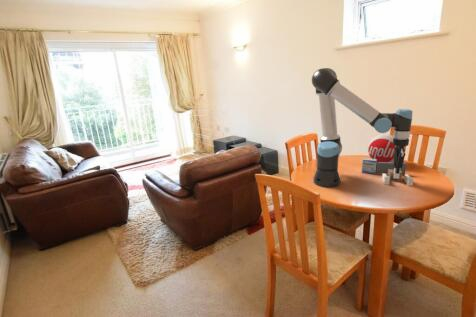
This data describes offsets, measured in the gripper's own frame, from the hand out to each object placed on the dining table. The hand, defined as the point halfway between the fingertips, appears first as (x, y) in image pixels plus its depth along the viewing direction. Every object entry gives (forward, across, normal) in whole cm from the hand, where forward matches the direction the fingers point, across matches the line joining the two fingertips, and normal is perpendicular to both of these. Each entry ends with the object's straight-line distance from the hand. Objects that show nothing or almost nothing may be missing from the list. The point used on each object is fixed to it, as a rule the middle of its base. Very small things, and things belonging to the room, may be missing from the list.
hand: (396, 178), depth 152 cm
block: (+2, +4, 0) cm, 4 cm away
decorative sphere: (+2, +34, 0) cm, 34 cm away
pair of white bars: (+2, -2, 0) cm, 3 cm away
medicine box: (+2, +13, +12) cm, 18 cm away
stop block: (+2, +12, 0) cm, 13 cm away
